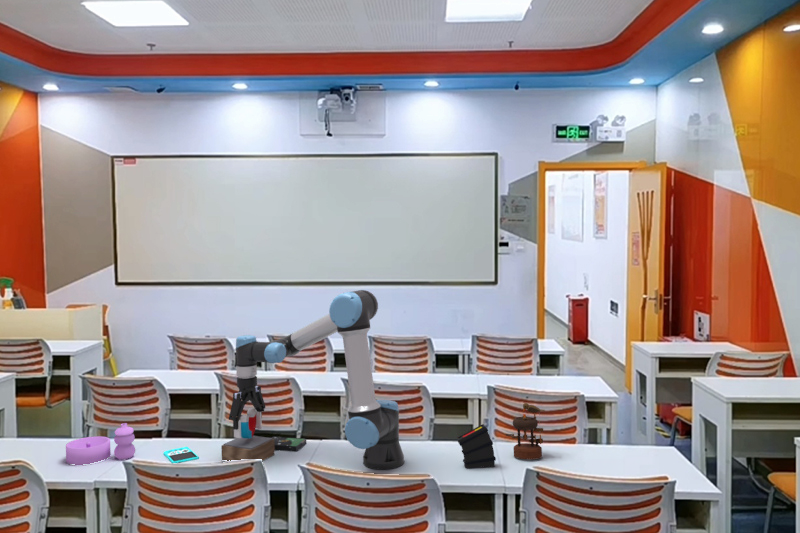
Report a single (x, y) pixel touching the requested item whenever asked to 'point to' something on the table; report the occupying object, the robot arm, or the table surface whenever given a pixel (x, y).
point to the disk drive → (289, 443)
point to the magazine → (477, 448)
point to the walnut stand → (248, 448)
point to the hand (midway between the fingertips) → (248, 432)
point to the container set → (101, 447)
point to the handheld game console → (180, 455)
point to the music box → (526, 424)
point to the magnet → (248, 424)
